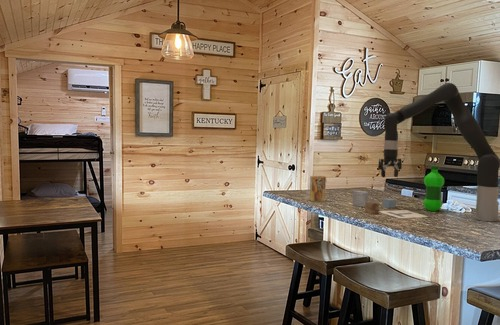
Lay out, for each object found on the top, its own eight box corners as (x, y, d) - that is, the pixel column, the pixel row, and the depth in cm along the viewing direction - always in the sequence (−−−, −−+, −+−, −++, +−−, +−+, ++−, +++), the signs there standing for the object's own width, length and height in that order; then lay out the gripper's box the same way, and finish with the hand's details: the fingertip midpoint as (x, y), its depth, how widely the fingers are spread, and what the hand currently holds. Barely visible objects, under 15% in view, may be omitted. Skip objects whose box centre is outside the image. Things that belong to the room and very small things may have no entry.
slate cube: (390, 206, 243) (390, 198, 243) (395, 208, 239) (396, 199, 238) (382, 207, 242) (383, 198, 241) (388, 208, 237) (388, 200, 237)
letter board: (405, 210, 232) (405, 210, 232) (428, 217, 215) (428, 216, 215) (377, 212, 226) (377, 211, 226) (399, 219, 209) (399, 218, 209)
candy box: (322, 199, 263) (323, 175, 262) (325, 201, 259) (326, 176, 258) (309, 200, 261) (310, 175, 260) (311, 201, 257) (312, 176, 256)
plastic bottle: (419, 210, 235) (422, 165, 233) (426, 207, 243) (429, 165, 241) (438, 212, 228) (440, 167, 226) (444, 210, 236) (447, 166, 234)
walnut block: (373, 212, 224) (373, 201, 224) (378, 214, 220) (379, 203, 219) (365, 213, 223) (365, 202, 222) (370, 215, 218) (371, 203, 218)
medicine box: (368, 206, 242) (369, 191, 242) (364, 207, 239) (365, 192, 238) (356, 204, 248) (356, 190, 247) (352, 205, 244) (353, 191, 244)
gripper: (396, 148, 242) (395, 176, 243) (376, 148, 237) (374, 176, 238) (405, 148, 235) (404, 177, 236) (384, 148, 230) (383, 178, 231)
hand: (389, 177), depth 237 cm, fingers open, 8 cm apart
